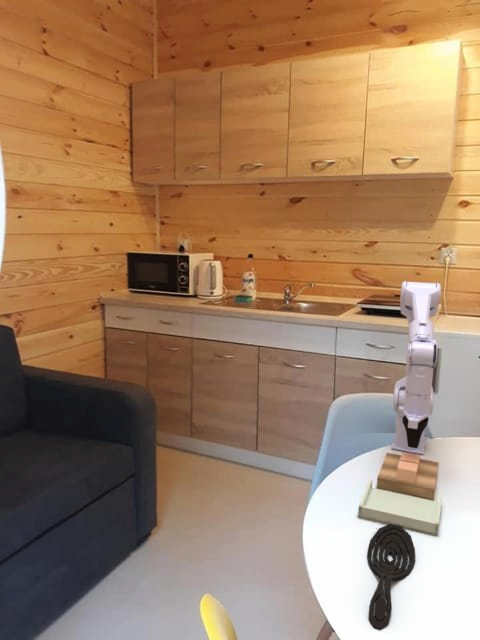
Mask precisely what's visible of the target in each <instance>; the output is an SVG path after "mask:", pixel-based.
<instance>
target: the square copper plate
mask: <svg viewBox="0 0 480 640" xmlns="http://www.w3.org/2000/svg"><path fill="white" fill-rule="evenodd" d="M401 455H402V454H397V453H392V452H391V453H390V452H386V453H385V457H384V459H383V462H382V464H381V467H380V470H379V472H378V476H377V479H376V488H377V489H381V490H386V491H391V492H395V493H400V494H405V495H409V496H414V497H419V498H423V499H428V500H433V501H435V493H436V488H437V487H436V486H437V479H438V472H439V462H438V461H434V460H433V461H432V460H428V459H422V458H420V462H419V470H418V474H417V479H416V483H415V484H411V483H406V482H401V481H396V478H397V468H398V464H399V461H400V458H401Z"/></svg>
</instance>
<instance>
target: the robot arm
mask: <svg viewBox="0 0 480 640" xmlns="http://www.w3.org/2000/svg"><path fill="white" fill-rule="evenodd" d="M400 286H401V288H400V289H401V290H400V297H399V298H400V299H399V300H400V301H399V302H400V305H399V310H400V314H401V315H403V316H404V317H406V320H407V324H408V333H407V334H408V335H407V336H408V337H407V345H406V355H405V361H406V366H405V367H406V369H405V376H404V377H403V378H400V379H399V380H398V381H396V382H395V383H394V387H393V388H394V390H393V397H392V410H393V412H394V413H396V424H395V435H394V438H393V441H392V444H391V449H392V450H396V451H401V452H405V453H410V454H415V455H424V453H425V452H424V451H425V449H426V448H425V447H426V443H427V439H425V429H426V428H427V426H428V423H429V420H430V419H429V417H430V416H431V415H432V414H433V411H434V410H433V409H434V401H435V400H434V388H433V378H434V377H433V376H434V368H436V366H437V361H438V353H439V351H438V344H437V341H436V339H435V326H434V324H433V322H432V321H431V320H429V319H431V318H434V317H435V316H436V314H437V313H438V310H439V309H438V308H439V305H440V301H441V293H442V290H441V289H442V286H441V284H440V283H439V282H436V283H435V282H417V281H406V280H404V281H403V282H402V283H401V285H400Z"/></svg>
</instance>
